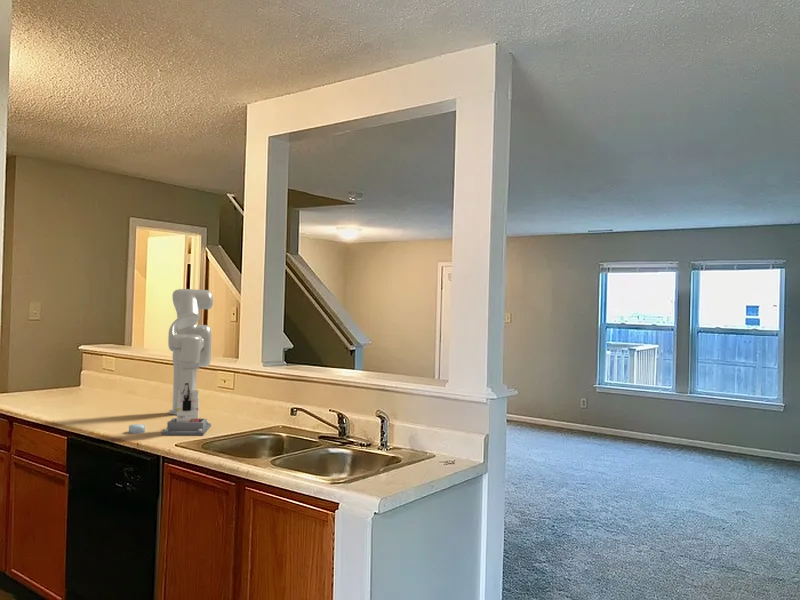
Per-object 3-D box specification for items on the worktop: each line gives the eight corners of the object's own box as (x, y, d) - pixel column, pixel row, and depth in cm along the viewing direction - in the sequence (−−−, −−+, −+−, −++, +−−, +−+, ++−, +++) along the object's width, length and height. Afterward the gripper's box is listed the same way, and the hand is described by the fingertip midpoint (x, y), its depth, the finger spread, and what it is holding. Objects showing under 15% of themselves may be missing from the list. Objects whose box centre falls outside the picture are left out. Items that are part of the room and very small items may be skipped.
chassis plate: (172, 425, 271) (172, 416, 271) (210, 426, 273) (211, 416, 273) (161, 435, 251) (162, 424, 251) (203, 435, 254) (203, 425, 254)
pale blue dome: (131, 431, 258) (131, 424, 258) (146, 431, 259) (146, 424, 259) (126, 434, 252) (127, 427, 252) (142, 434, 253) (142, 427, 253)
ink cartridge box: (198, 423, 266) (199, 388, 266) (197, 425, 261) (199, 390, 261) (176, 423, 264) (178, 388, 264) (175, 425, 259) (177, 390, 259)
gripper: (184, 363, 271) (182, 405, 271) (176, 367, 254) (174, 412, 254) (202, 364, 272) (200, 406, 272) (195, 368, 255) (193, 413, 255)
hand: (188, 408), depth 263 cm, fingers closed on ink cartridge box, 5 cm apart
